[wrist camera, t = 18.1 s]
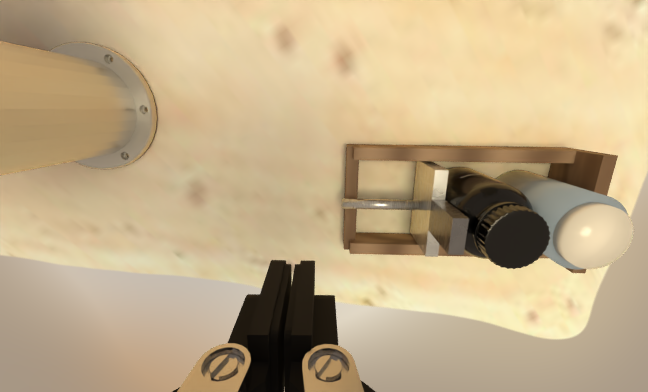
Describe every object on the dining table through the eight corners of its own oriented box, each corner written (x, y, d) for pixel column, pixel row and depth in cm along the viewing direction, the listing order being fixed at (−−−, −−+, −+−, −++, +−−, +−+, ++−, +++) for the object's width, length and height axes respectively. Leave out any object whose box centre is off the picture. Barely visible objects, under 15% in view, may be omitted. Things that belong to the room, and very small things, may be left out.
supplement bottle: (466, 153, 32) (543, 176, 21) (496, 203, 34) (582, 251, 22) (411, 188, 33) (455, 229, 22) (442, 235, 35) (497, 297, 23)
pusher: (340, 230, 35) (343, 282, 24) (342, 158, 33) (347, 181, 22) (420, 232, 35) (458, 285, 24) (428, 159, 32) (474, 183, 22)
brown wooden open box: (343, 241, 36) (345, 267, 30) (346, 144, 32) (349, 151, 27) (543, 246, 35) (585, 273, 29) (566, 147, 32) (617, 155, 26)
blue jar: (480, 224, 35) (545, 274, 24) (489, 169, 33) (564, 196, 22) (536, 226, 34) (627, 277, 24) (549, 170, 33) (653, 199, 22)
